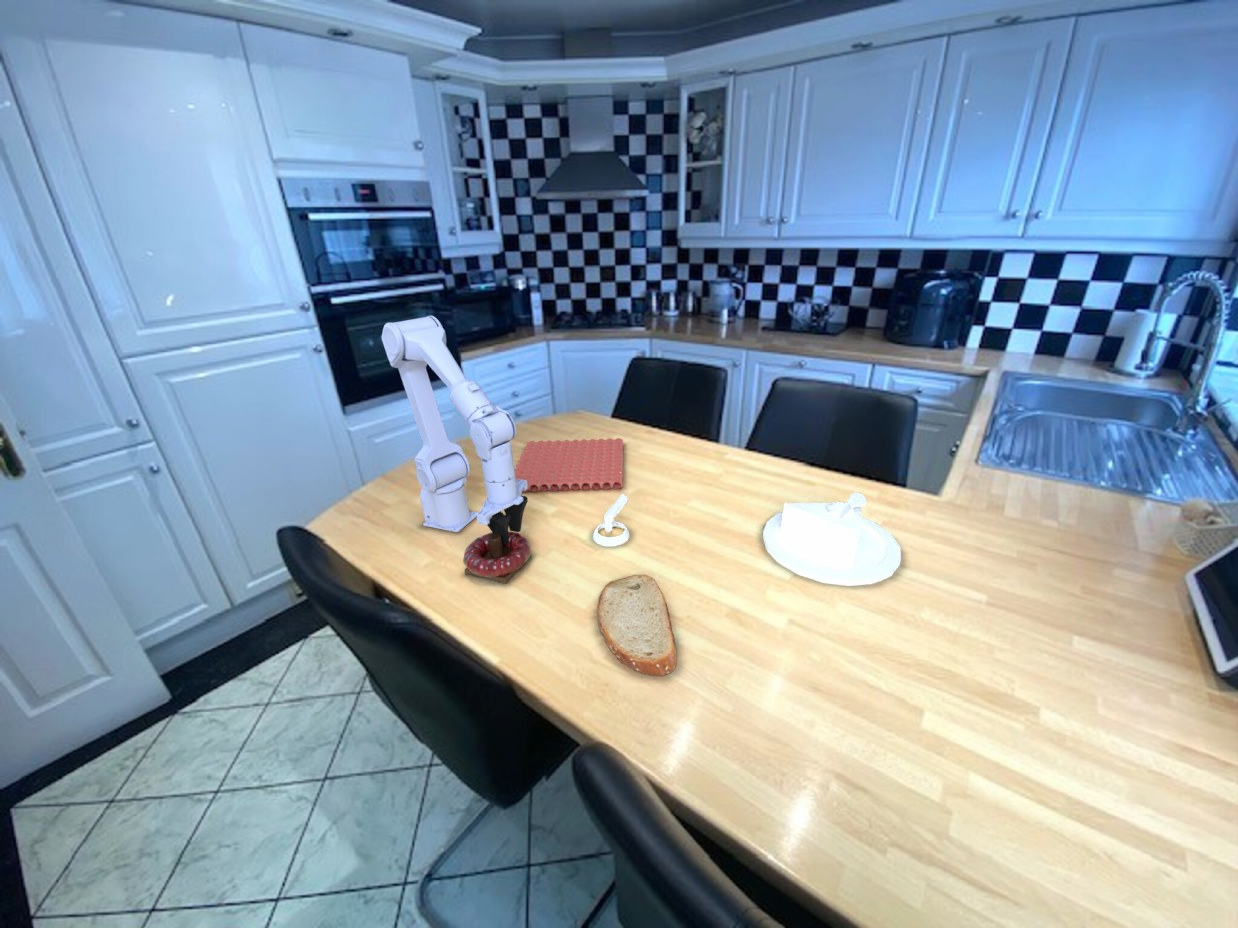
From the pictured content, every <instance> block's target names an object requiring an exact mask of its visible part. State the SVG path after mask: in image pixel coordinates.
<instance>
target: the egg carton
mask: <svg viewBox="0 0 1238 928" xmlns="http://www.w3.org/2000/svg"><path fill="white" fill-rule="evenodd" d="M515 467H516V468H515V476H516V481H517V480H518V479H522V480H527V486H528V489H527V490H525V491H522V493H527V492H528V491H531V493H536V492H538V491H541V492H543V493H546V492H548V491H552V492H558V491H559V490H561V491H562V492H568V491H569V490H572V491H574V492H577V491H579V490H583V491H589V490H591V489H592V490H594V491H598V490H600V489H603V490H604V491H608V490H610V489H614V490H617V491H618V490H620V489H621V488H623V484H624V483H623V481H624V480H623V478H624V477H623V475H624V474H623V473H624V470H623V469H624V439H623V438H620V437H617V438H615V439H613V438H611V437H609V438H607V439H604V438H599V439H595V438H591V439H589V440H587V439H585V438H584V439H581V440H578V439H573V440H568V439H565V440H560V439H556V440H555V441H552V440H547V441H543V440H539V441H534V440H530V441H528V442H526V445H525V447H524V449H523V451H522V453H521V456H520V457H519V460H518V462H517V465H516V466H515Z"/></svg>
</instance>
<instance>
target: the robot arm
mask: <svg viewBox="0 0 1238 928" xmlns="http://www.w3.org/2000/svg"><path fill="white" fill-rule="evenodd" d="M381 341H382V344H383V348H384V350H385V353H386V356H387V359H388V361H389V364H390V367H392V368H396V369H398V372H399V375H400V378H401V381H402V385H403V387H404V390H405V393H406V396H407V399H408V402H409V406H410V409H411V412H412V416H413V418H414V421H415V423H416V427H417V430H418V433H419V436H420V438H421V442H422V447H421V449H420V450H419V452H418V453H417V454H416V456H415V457H414V460H413V461H414V466H415V471H416V473H415V475H416V478H417V482H418V483H419V484H420V487H421V490H420V494H419V500H420V505H421V509H422V513H423V517H424V522H423V523H422V525H423V527H429V528H434V529H439V530H444V531H448V532H453V533H459V532H460V531H462V530H463V529H464V528H465V527H466V526H467V525H469V524H470V523H471V522H472V521H473V520H474V519H475V518H476V520H477V524H478V525H483V526H486V527H488V528H489V530H490V531H491V532H492V533H499V534H500V535H501V541H502V544H503V545H507V544H508V542H509V534H508V531H509V532H514V533H520V532H521V530H522V524H523V517H524V512H525V509H526V506H527V504H528V502H529V499H528V497H527V496H526V495H522V493H523V492H522V491H525V490H527V489H528V486H527V480H522V479H518V480H517V481H516V476H515V469H516V468H515V463H514V454H513V449H512V442H511V441H512V440H514V439H515V437H516V436H517V427H516V423H515V421H514V419H513V417H512V416H511V414H510V413H509V412H508V411H506V410H505V409H502V408H501V407H500V406H498V405H494V403H493V402H492V400H490V398H489V397H488V395H487V394H486V392H484V390H483V389H482V387H481V385H479V384H478V382H477V381H475V380H471V379H468V378H467V377H466V375H465V374H464V372H463V371H462V369H461V368H460V366H459V364H458V362H457V361H456V360H455V358H454V356H453V354H452V353H451V350H449V348H448V346H447V334H446V331H445V329H444V328H443V325H442V323H441V321H439V320H438V318H436V317H435V316H433V315H427V316H424V317H419V318H418V317H417V318H412V319H407V320H402V321H401V320H400V321H395V322H387V323H385V324H384V326H383V329H382V334H381ZM427 366H429V368H431V370H432V371H433V372H434V373H435V375H437V376H438V378H439V379H440V380H441V381H442V382H443V383H444V385H446V387H447V388H448V389H449V390H450V394H449V400H450V402H451V403H452V404H453V406H454V408H455V409H456V410H457V411H458V413H459V414H460V415H461V417H462V418H463V420H464V421H465V422H466V423H467V425H468V426H469V431H468V434H469V437H470V440H471V443H472V444H473V445H474V447H475V451H476V454H477V457H478V458H480V462H481V468H482V474H483V479H484V486H485V491H486V498H485V500H484V503H483V504H482V506H481V508H480V510H479V511H472V510H470V507H469V501H468V497H467V491H466V485H465V484H466V483H467V482H468V479H467V478H468V477H469V476H470V473H471V465H470V462H469V459H468V458H467V456H466V454H465V452H464V451H463V447H462V445H460V444H459V443H455V442H453V441H451V440H449V438H448V434H447V431H446V428H445V425H444V422H443V419H442V415H441V412H440V409H439V405H438V402H437V400H436V396H435V393H434V389H433V387H432V383H431V379H430V377H429V374H428V371H427ZM502 511H504V512H502Z"/></svg>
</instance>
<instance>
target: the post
mask: <svg viewBox="0 0 1238 928" xmlns="http://www.w3.org/2000/svg"><path fill="white" fill-rule="evenodd" d="M488 543H489V549H490V551H487V552H485V553H484V554H483V555H482V558H486V559H497V558H502V557H504V556H506V555H509V554H510V553H511V552H512V551H513V549H511V548H506V547H502V541H501V535H500V534H499V533H492V534H490V535H489V536H488ZM531 557H532V553H531V552H530V557H529V559H530V558H531ZM527 562H528V560H527V561H526V562H525V563H524V564H523V565H522V566H521V567H520V568H519V569H517V570H515V571H513V572H511V573H509V574H507V575H503V576H495V577H484V576H480V575H476V574H473V573H471V572H470V570H469V569H468V568H467V567H465V569H464V574H465V575H466V576H470V577H474V578H478V579H482V580H486V581H490V582H494V583H499V584H504V585H507V584H508V583H509V582H510V581H511V580H512V579H513V577H514V576H515V575H516V574H517V573H518V572H519V571H520V569H522V567H524V565H525V564H526V563H527Z"/></svg>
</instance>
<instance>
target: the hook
mask: <svg viewBox="0 0 1238 928" xmlns="http://www.w3.org/2000/svg"><path fill="white" fill-rule="evenodd" d="M628 503H629V497H628V496H627V495H626V494H624V493H622V494H621V495H619V497H618V498H617V499H616V500H615V501H614V503H613V504H612V505H611V506H610V508H609V509H608V510H607V511H606V512H605V514H604V515H603V522H602V523H600V524H598V525H597V526H596V528H595V529H594V531H593V534H592V539H593V541H594V542H595V543H596V544H598V545H599V546H602V547H618V546H620V545H624V544H625V543H626V542H628V540H629V539H630V535H631V533H630V532H629V529H628V527H627V526H626V525H625V524H624V523H622V522H619V521H615V517H616V516H617V515H619V513H620V512H621V511H622V510H623V508H624V507H626V505H627V504H628ZM613 528H620V529H622V530H624V531H623V532H622V533H621V534H619V535H616V536H604V535H602V534H600V533H599V531H601V530H603V529H604V532H605V533H611V532H613Z"/></svg>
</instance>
